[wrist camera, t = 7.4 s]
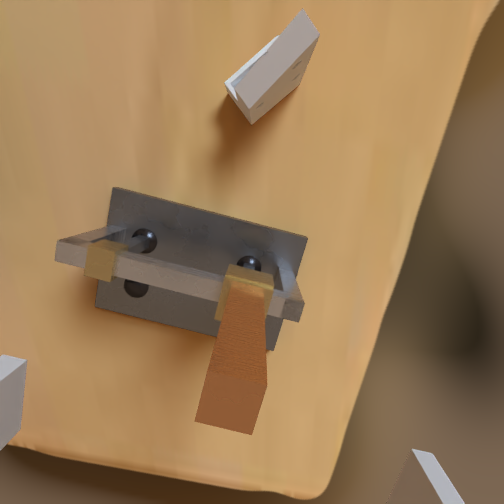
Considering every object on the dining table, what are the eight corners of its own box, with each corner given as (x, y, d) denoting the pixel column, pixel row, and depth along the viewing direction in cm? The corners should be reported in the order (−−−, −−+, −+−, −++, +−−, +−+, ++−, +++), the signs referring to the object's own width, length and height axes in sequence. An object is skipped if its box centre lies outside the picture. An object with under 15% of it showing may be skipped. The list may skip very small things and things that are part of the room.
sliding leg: (227, 280, 32) (177, 429, 12) (235, 247, 31) (195, 353, 12) (261, 289, 32) (262, 450, 13) (270, 256, 31) (286, 375, 12)
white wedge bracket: (345, 39, 26) (320, 34, 19) (263, 120, 32) (222, 137, 25) (319, 0, 25) (284, -20, 18) (241, 90, 31) (193, 100, 25)
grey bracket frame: (109, 243, 31) (50, 267, 23) (112, 221, 31) (54, 236, 22) (287, 289, 32) (297, 329, 23) (293, 267, 31) (306, 300, 23)
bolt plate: (100, 302, 34) (94, 307, 33) (118, 187, 31) (112, 187, 30) (273, 345, 35) (273, 351, 33) (306, 236, 32) (308, 238, 31)
